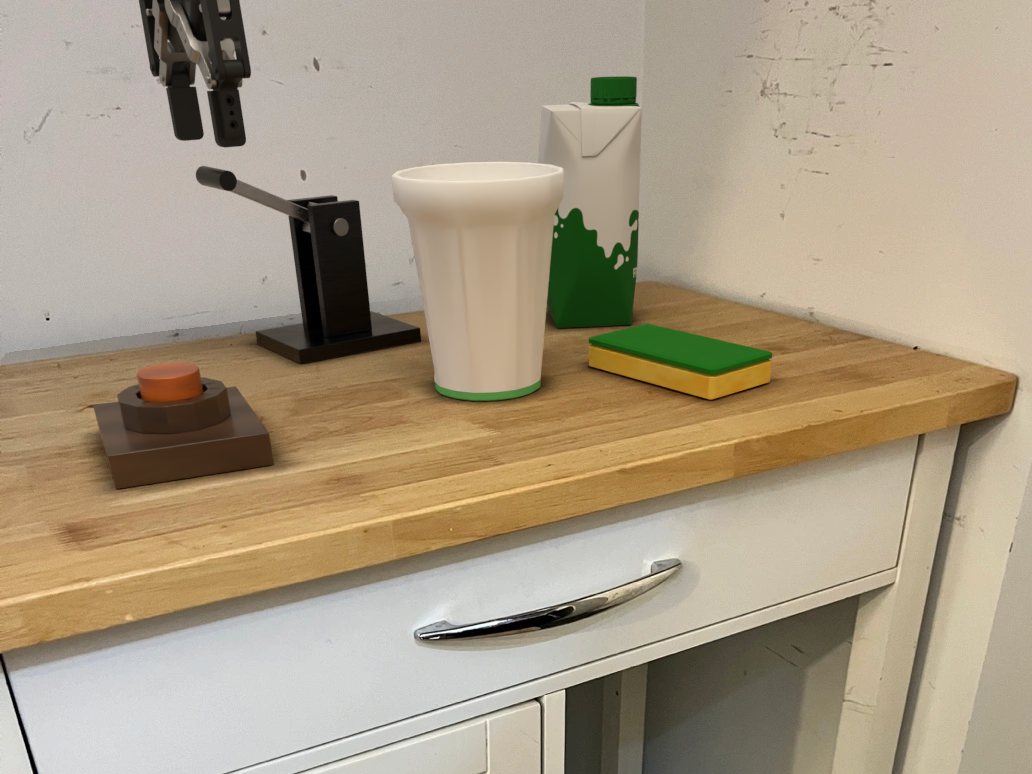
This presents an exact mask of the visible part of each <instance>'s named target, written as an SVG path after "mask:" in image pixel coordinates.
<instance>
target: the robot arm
mask: <svg viewBox="0 0 1032 774" xmlns="http://www.w3.org/2000/svg"><path fill="white" fill-rule="evenodd" d="M138 3H139V10H140V17H141V22H142V27H143V33H144V39H145V45H146V51H147V57H148V64H149V70H150V73H151V75H152V77H154V78H156V77H159V81H160V83H161V86H163V88H165V87H166V88H165V90H166V95H167V96H166V97H167V101H168V106H169V113H170V117H171V118H170V119H171V124H172V129H173V134H174V137H175V138H176V139H177V140H179V141H184V142H186V141H188V142H189V141H199V140H202V139H203V138H204V135H205V133H204V126H203V120H202V115H201V109H200V103H199V97H198V91H197V86H194V85H195V84H196V70H197V66H198V68H199V71H200V73H201V76H202V78H203V80H204V83H205V85H206V88H207V89H208V90H207V91H206V94H207V99H208V106H209V113H210V119H211V126H212V128H213V129H212V131H213V136H214V137H213V138H214V142H215V144H216V145H217V146H218V147H219V148H220V147H221V148H237V147H244V146H245V144H246V143H247V137H246V136H247V135H246V130H245V129H246V127H245V123H244V122H245V121H244V115H243V110H242V101H241V96H240V90H239V89H240V88H242V87H243V81H244V80H243V79H250V78H251V76H252V69H251V67H252V66H251V62H250V56H249V50H248V45H247V38H246V32H245V26H244V20H243V19H244V18H243V14H242V9H241V2H240V0H138Z"/></svg>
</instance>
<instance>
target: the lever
mask: <svg viewBox="0 0 1032 774" xmlns="http://www.w3.org/2000/svg"><path fill="white" fill-rule="evenodd" d="M195 178H196V181H197V183H199V185H201V186H204V187H209V188H213V189H218V190H221V191H226V192H230V193H232V194H235V195H238V196H241V197H242V198H245V199H246V200H249V201H252V202H254V203H257V204H260V205H262V206H264V207H266V208H269V209H271V210H274V211H277V212H279V213H282V214H284V215H287V216H288V215H289V216H291V217H294V218H296V219H299V220H301V221H303V222H304V224H303V228H302V231H304V232H307V233H309V234H311V231H310V223H309V215H308V208H304V207H302V206H299V205H297V204H295V203H292V202H290V201H287V200H288V199H285V198H283V197H280V196H277V195H275V194H273V193H270V192H268V191H266V190H264V189H262V188H259V187H256V186H253V185H252V184H249V183H247V182H244V181H242V180H240V179H237V177H236V175H235V173H234V172H233V171H231V170H226V169H220V168H217V167H212V166H206V165H201V166H198V168H197V169H196V171H195ZM311 204H317V203H312V202H309V204H308V205H311Z"/></svg>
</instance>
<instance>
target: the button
mask: <svg viewBox="0 0 1032 774" xmlns="http://www.w3.org/2000/svg"><path fill="white" fill-rule="evenodd" d="M201 377H202V376H201V371H200V367H199V366H198V365H196V364H194V363H189V362H168V363H167V362H166V363H158V364H153V365H149V366H146V367H143V368H141V369H139V370H138V371H136V379H137V384H139V389H140V393H141V398H142V400H146V401H173V400H181V399H187V398H191V397H194V396H197V395H201V394H202V393H204V392H203V386H202V381H201Z"/></svg>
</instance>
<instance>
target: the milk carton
mask: <svg viewBox="0 0 1032 774" xmlns="http://www.w3.org/2000/svg"><path fill="white" fill-rule="evenodd" d="M637 88H638V78H637V76H596V77H591V78H590V102H582V101H580V102H579V101H572V102H568V104H542V105H541V109H540V110H541V111H540V128H539V144H538V162H537V163H539V164H550V165H554V166H558V167H561V168H563V169H564V183H563V199H562V201H561V203H560V205H559V207H558V209H557V211H556V213H555V215H554V226H553V238H552V250H551V261H550V273H549V285H548V297H547V312H548V313H549V316H550V317H551V320H552V321H553V323H554V325H555V327H556V329H569V328H570V329H572V328H573V329H574V328H592V327H593V328H594V327H611V326H612V327H614V326H615V327H616V326H632V324H633V314H634V313H633V312H634V303H635V293H636V284H637V274H638V262H639V261H638V257H639V230H640V229H639V225H640V223H639V222H640V190H641V188H640V186H641V149H642V148H641V146H642V145H641V144H642V119H643V118H642V117H643V116H642V114H643V109H642V107H641V106H640V105H639V103H638V102H637V91H638V89H637Z"/></svg>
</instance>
